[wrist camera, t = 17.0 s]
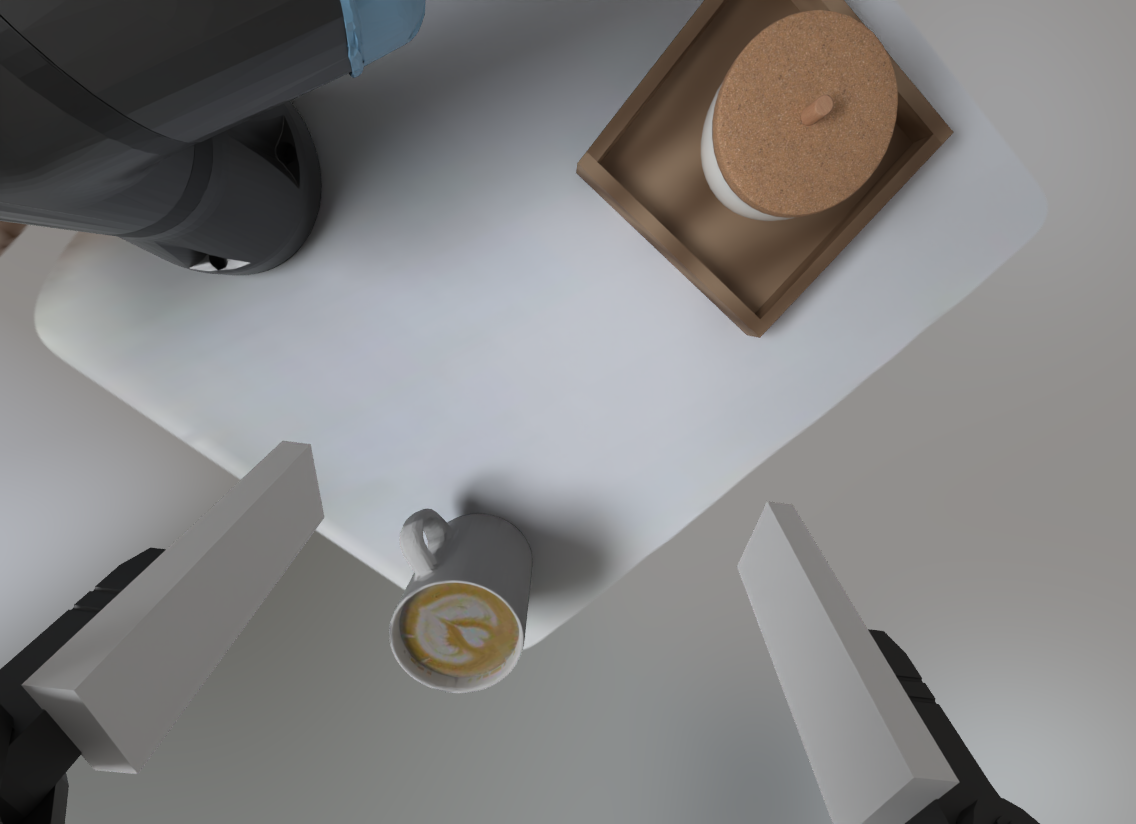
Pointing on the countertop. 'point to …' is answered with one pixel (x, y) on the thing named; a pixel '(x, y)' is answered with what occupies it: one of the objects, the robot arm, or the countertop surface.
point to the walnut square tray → (680, 190)
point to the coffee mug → (462, 601)
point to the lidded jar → (800, 117)
